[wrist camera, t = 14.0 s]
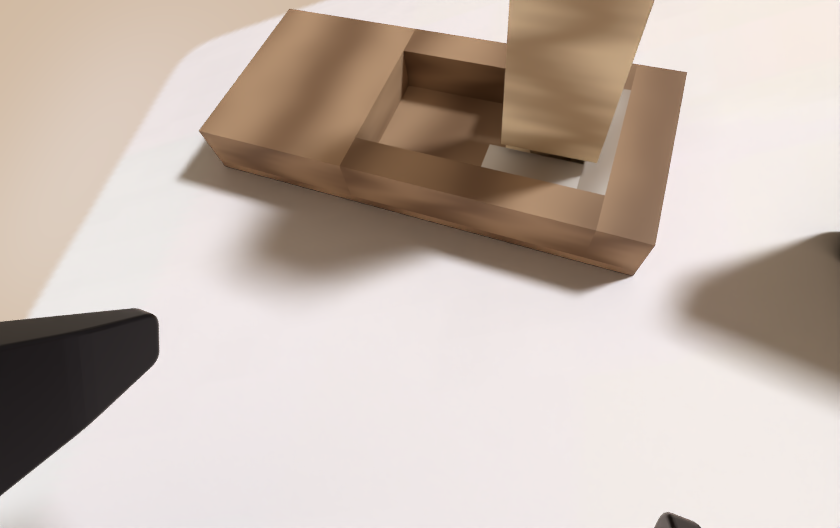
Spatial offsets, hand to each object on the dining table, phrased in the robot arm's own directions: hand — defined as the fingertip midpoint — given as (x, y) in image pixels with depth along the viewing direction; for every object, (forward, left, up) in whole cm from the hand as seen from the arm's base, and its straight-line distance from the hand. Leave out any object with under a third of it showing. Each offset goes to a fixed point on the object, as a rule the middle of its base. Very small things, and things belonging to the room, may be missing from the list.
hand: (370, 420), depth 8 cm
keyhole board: (+3, +18, -14) cm, 23 cm away
